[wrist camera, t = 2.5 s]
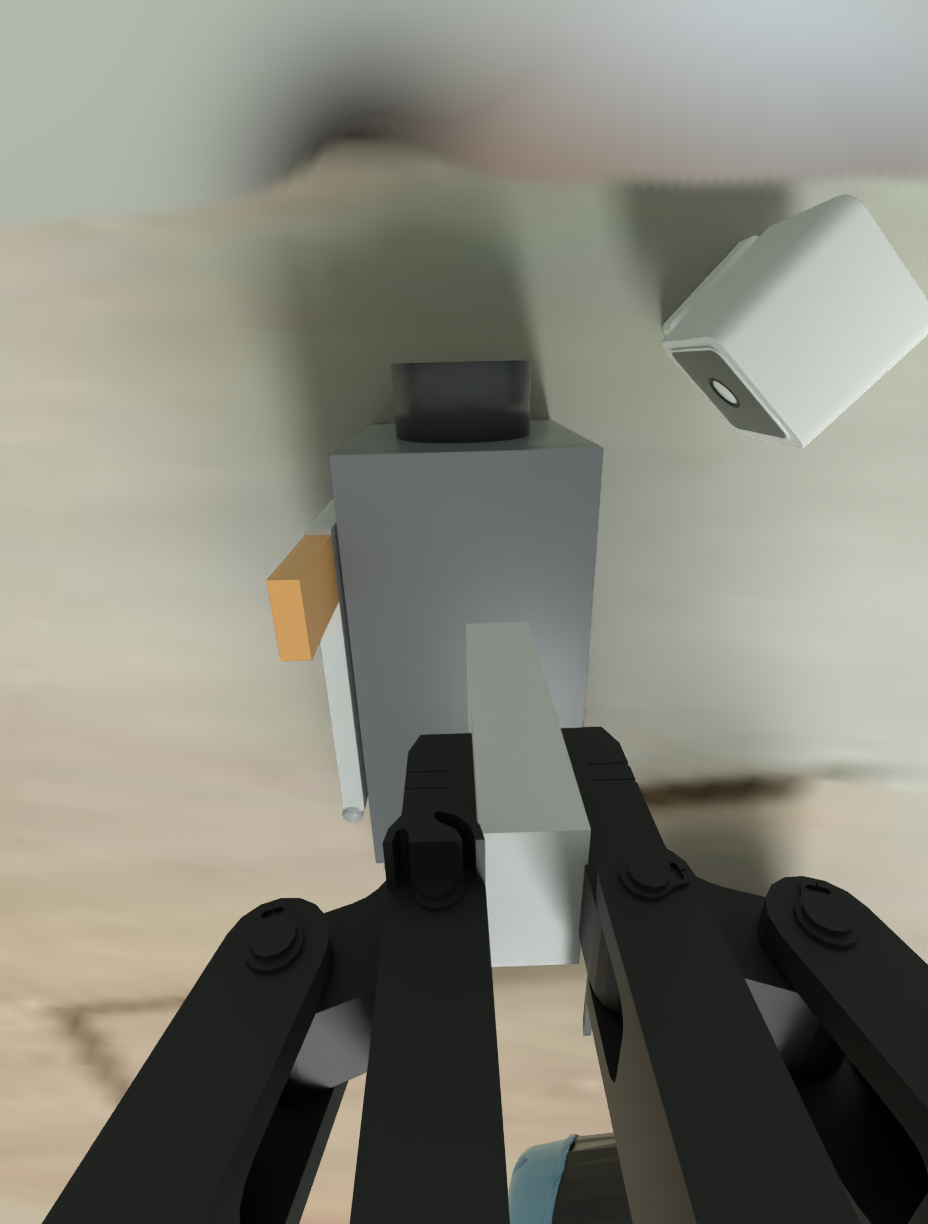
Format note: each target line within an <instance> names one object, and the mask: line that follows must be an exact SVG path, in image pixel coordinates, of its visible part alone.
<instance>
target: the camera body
mask: <svg viewBox="0 0 928 1224" xmlns="http://www.w3.org/2000/svg"><path fill="white" fill-rule="evenodd" d="M392 378H393V393H394V407H395V422H396V424H371V425H369V426H368V427H367V428H365V429H364V430H363V431H361V432H360V433H358V434H357V435H356V436H354V437H353V438H352V439H350V440H349V441H348V442H346V443H345V444H344V445H342V446H341V447H339V448H338V449H337V450H335V451H334V452H333V453H331V454H330V455H329V456H328V457H329V465H330V474H331V482H332V491H333V499H334V508H335V516H336V525H337V533H338V542H339V551H340V559H341V568H342V576H343V585H344V593H345V602H346V610H347V619H348V627H349V636H350V645H351V653H352V662H353V670H354V679H355V687H356V696H357V704H358V713H359V721H360V730H361V739H362V747H363V756H364V764H365V773H366V781H367V790H368V798H369V807H370V815H371V824H372V833H373V841H374V850H375V858H376V863H385V862H384V853H383V844H382V843H383V841H384V838H385V836H386V833H387V830H388V828H389V827H390V826H391V825H392V824H393V823H394V822H395V821H396V820H397V819H398V818H399V817H400V816H401V815H402V806H403V796H404V787H405V777H406V767H407V758H408V751H409V750H410V749H411V747H412V746H413V745H414V743H415V742H416V740H417V739H418V738H419V736H420V735H426V734H455V733H469V723H468V687H467V647H466V624H473V623H505V622H529V626H530V629H531V632H532V636H533V639H534V642H535V646H536V649H537V652H538V656H539V659H540V662H541V666H542V669H543V672H544V676H545V679H546V682H547V686H548V689H549V692H550V695H551V699H552V702H553V705H554V709H555V712H556V715H557V719H558V722H559V725H560V728H578V727H583V724H584V710H585V696H586V682H587V668H588V654H589V640H590V627H591V613H592V599H593V585H594V571H595V557H596V543H597V529H598V515H599V501H600V488H601V474H602V460H603V447H601V446H599V445H597V444H595V443H593V442H591V441H590V440H588V439H586V438H584V437H582V436H580V435H578V434H577V433H575V432H573V431H571V430H569V429H567V428H565V427H563V426H562V425H560V424H558V423H556V422H554V421H552V420H550V419H544V420H530V402H531V360H527V361H481V362H443V363H409V364H392Z"/></svg>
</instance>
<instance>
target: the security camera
mask: <svg viewBox="0 0 928 1224" xmlns="http://www.w3.org/2000/svg"><path fill="white" fill-rule="evenodd" d="M662 330H663V332H664V333H665V334H666V337H665V338H664V339H663V340H662V342H661V344H662V347H663V348H664V350H665V351H666V353H667V354H668V355H669V356H670V357H671V359H672V360H673V361H674V362H675V363H676V364H677V365H678V367H679V368H680V369H681V370H682V371H683V372H684V374H685V375H686V376H687V377H688V378H689V379H690V380H691V382H692V383H693V384H694V385H695V386H696V387H697V389H698V390H699V391H700V392H701V393H702V394H703V395H704V397H705V398H706V399H707V400H708V401H709V402H710V404H711V405H712V406H713V407H714V408H715V409H716V410H717V412H718V413H719V414H720V415H721V416H722V417H723V418H724V420H725V421H726V422H727V423H728V424H729V425H730V426H731V427H732V428H733V429H734V430H735V431H736V432H738V433H739V434H741V435H743V436H747V437H751V438H756V439H760V440H764V441H768V442H772V443H777V444H781V445H785V446H789V447H794V448H798V449H803V448H804V447H805V446H806V445H807V444H809V443H810V442H811V441H812V440H813V439H814V438H815V437H816V436H817V435H818V434H819V433H821V432H822V431H823V430H824V429H825V428H826V427H827V426H828V425H829V424H830V423H832V422H833V421H834V420H835V419H836V418H837V417H838V416H839V415H840V414H841V413H842V412H844V411H845V410H846V409H847V408H848V407H849V406H850V405H851V404H852V403H853V402H855V401H856V400H857V399H858V398H859V397H860V396H861V395H862V394H863V393H864V392H865V391H867V390H868V389H869V388H870V387H871V386H872V385H873V384H874V383H875V382H876V381H877V380H879V379H880V378H881V377H882V376H883V375H884V374H885V373H886V372H887V371H888V370H890V369H891V368H892V367H893V366H894V365H895V364H896V363H897V362H898V361H899V360H900V359H902V358H903V357H904V356H905V355H906V354H907V353H908V352H909V351H910V350H911V349H913V348H914V347H915V346H916V345H917V344H918V343H919V342H920V341H921V340H922V339H923V338H925V337H926V336H927V335H928V299H927V297H926V296H925V294H924V293H923V291H922V290H921V288H920V287H919V285H918V284H917V282H916V281H915V279H914V278H913V276H912V275H911V273H910V272H909V270H908V269H907V267H906V266H905V264H904V263H903V261H902V260H901V258H900V257H899V255H898V254H897V252H896V251H895V249H894V248H893V246H892V245H891V243H890V242H889V240H888V239H887V237H886V236H885V234H884V233H883V231H882V230H881V228H880V227H879V225H878V224H877V222H876V221H875V219H874V218H873V216H872V215H871V213H870V212H869V210H868V209H867V207H866V206H865V205H864V204H863V202H861V201H860V200H859V199H858V198H856V197H854V196H851V195H846V194H845V195H840V196H837V197H835V198H833V199H831V200H828V201H826V202H824V203H821V204H819V205H817V206H815V207H812V208H810V209H808V210H806V211H803V212H801V213H799V214H796V215H794V216H792V217H790V218H787V219H785V220H783V221H780V222H778V223H776V224H774V225H771V226H769V227H768V228H767V229H766V230H765V231H764V232H763V233H762V234H761V236H760V237H759V236H757V235H754V236H751V237H749V238H747V239H745V240H742V241H740V242H739V243H738V244H737V245H736V246H735V247H734V248H733V249H732V251H731V252H730V253H729V254H728V255H727V256H726V257H725V258H724V259H723V260H722V261H721V262H720V263H719V265H718V266H717V267H716V268H715V269H714V270H713V271H712V272H711V273H710V274H709V275H708V276H707V277H706V279H705V280H704V281H703V282H702V283H701V284H700V285H699V286H698V287H697V288H696V289H695V290H694V291H693V293H692V294H691V295H690V296H689V297H688V298H687V299H686V300H685V301H684V302H683V303H682V304H681V305H680V307H679V308H678V309H677V310H676V311H675V312H674V313H673V314H672V315H671V316H670V317H669V318H668V319H667V321H666V322H665V323H664V324H663V326H662Z"/></svg>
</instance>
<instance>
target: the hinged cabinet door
mask: <svg viewBox="0 0 928 1224" xmlns="http://www.w3.org/2000/svg"><path fill="white" fill-rule="evenodd" d="M304 531H305V536H304V537H303V538H302V540H301V541H300V542H299V543H298V544H297V545H296V547H295V548H294V549H293V550H292V551H291V552H290V554H289V555H288V556H287V557H286V558H285V559H284V561H283V562H282V563H281V564H280V565H279V566H278V568H277V569H276V570H275V571H274V572H273V573H272V575H271V576H270V577H269V578H268V579H267V586H268V592H269V598H270V603H271V609H272V615H273V621H274V626H275V632H276V638H277V643H278V649H279V655H280V661H303V660H312V658H313V656H314V654H315V652H316V649H317V647H318V645H319V643H320V645H321V652H322V659H323V666H324V673H325V681H326V688H327V695H328V702H329V709H330V716H331V723H332V730H333V737H334V744H335V752H336V759H337V766H338V773H339V780H340V787H341V794H342V801H343V808H344V809H343V813H342V816H343V818H344V819H345V820H346V821H348V822H351V823H356V822H359V821H360V820H361V819H362V818H363V814H364V811H365V807H366V802H367V797H368V790H367V781H366V773H365V764H364V756H363V747H362V739H361V730H360V721H359V713H358V704H357V696H356V687H355V679H354V670H353V662H352V653H351V645H350V636H349V627H348V619H347V610H346V602H345V593H344V585H343V576H342V568H341V559H340V551H339V542H338V533H337V525H336V516H335V508H334V499H332V500H331V501H330V502H329V503H328V504H327V505H326V507H325V508H324V509H323V510H322V511H321V512H320V513H319V514H318V516H317V517H316V518H315V519H314V520H313V521H312V522H311V524H310V525H309V526H308V527H307V528H306V529H305V530H304Z"/></svg>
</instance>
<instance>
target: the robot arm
mask: <svg viewBox="0 0 928 1224" xmlns="http://www.w3.org/2000/svg"><path fill="white" fill-rule="evenodd" d="M466 647H467V687H468V723H469V733H455V734H426V735H420V736H419V738H418V739H417V740H416V742H415V743H414V745H413V746H412V747H411V749H410V750H409V751H408V758H407V767H406V777H405V787H404V796H403V806H402V815H401V816H400V817H399V818H398V819H397V820H396V821H395V822H394V823H393V824H392V825H391V826H390V827H389V828H388V830H387V833H386V836H385V838H384V841H383V843H382V844H383V853H384V862H385V871H386V881H385V882H384V883H383V884H382V885H381V886H380V888H379V889H377V890H376V891H374V892H373V893H372V894H370V895H369V896H367V897H366V898H364V899H361V900H359V901H357V902H355V903H353V904H350V905H347V906H344V907H341V908H338V909H335V910H332V911H329V912H326V913H323V912H322V911H321V910H320V909H319V907H318V906H317V905H316V904H313V903H311V902H309V901H306V900H304V899H301V898H280V899H277V900H274V901H271V902H268V903H265V904H262V905H260V906H258V907H257V908H255V909H254V910H252V911H251V912H249V913H248V914H246V915H245V916H243V917H242V918H241V919H240V920H239V921H238V922H237V924H236V925H235V926H234V927H233V928H232V929H231V930H230V932H229V933H228V934H227V935H226V937H225V938H224V940H223V942H222V943H221V945H220V946H219V948H218V949H217V951H216V953H215V954H214V956H213V957H212V959H211V960H210V962H209V963H208V965H207V967H206V968H205V970H204V971H203V973H202V974H201V976H200V977H199V979H198V981H197V982H196V984H195V985H194V987H193V988H192V990H191V992H190V993H189V995H188V996H187V998H186V999H185V1001H184V1002H183V1004H182V1006H181V1007H180V1009H179V1010H178V1012H177V1013H176V1015H175V1017H174V1018H173V1020H172V1021H171V1023H170V1024H169V1026H168V1027H167V1029H166V1031H165V1032H164V1034H163V1035H162V1037H161V1038H160V1040H159V1041H158V1043H157V1045H156V1046H155V1048H154V1049H153V1051H152V1052H151V1054H150V1056H149V1057H148V1059H147V1060H146V1062H145V1063H144V1065H143V1066H142V1068H141V1070H140V1071H139V1073H138V1074H137V1076H136V1077H135V1079H134V1081H133V1082H132V1084H131V1085H130V1087H129V1088H128V1090H127V1091H126V1093H125V1095H124V1096H123V1098H122V1099H121V1101H120V1102H119V1104H118V1105H117V1107H116V1109H115V1110H114V1112H113V1113H112V1115H111V1116H110V1118H109V1120H108V1121H107V1123H106V1124H105V1126H104V1127H103V1129H102V1130H101V1132H100V1134H99V1135H98V1137H97V1138H96V1140H95V1141H94V1143H93V1145H92V1146H91V1148H90V1149H89V1151H88V1152H87V1154H86V1155H85V1157H84V1159H83V1160H82V1162H81V1163H80V1165H79V1166H78V1168H77V1169H76V1171H75V1173H74V1174H73V1176H72V1177H71V1179H70V1180H69V1182H68V1184H67V1185H66V1187H65V1188H64V1190H63V1191H62V1193H61V1194H60V1196H59V1198H58V1199H57V1201H56V1202H55V1204H54V1205H53V1207H52V1209H51V1210H50V1212H49V1213H48V1215H47V1216H46V1218H45V1219H44V1221H43V1223H42V1224H299V1222H300V1219H301V1217H302V1214H303V1211H304V1208H305V1205H306V1202H307V1199H308V1196H309V1193H310V1190H311V1187H312V1185H313V1182H314V1179H315V1176H316V1173H317V1170H318V1167H319V1164H320V1161H321V1158H322V1156H323V1153H324V1150H325V1147H326V1144H327V1141H328V1138H329V1135H330V1132H331V1129H332V1127H333V1124H334V1121H335V1118H336V1115H337V1112H338V1109H339V1106H340V1103H341V1100H342V1097H343V1095H344V1092H345V1089H346V1086H347V1083H348V1080H350V1079H352V1078H354V1077H357V1076H359V1075H361V1074H364V1073H366V1072H367V1076H366V1085H365V1093H364V1102H363V1111H362V1120H361V1129H360V1138H359V1147H358V1155H357V1164H356V1173H355V1182H354V1191H353V1200H352V1209H351V1217H350V1224H928V965H927V964H926V963H925V962H924V961H923V960H922V959H921V958H920V957H919V956H918V955H917V954H916V953H915V952H914V951H913V950H912V949H911V948H910V947H909V946H908V945H907V944H905V943H904V942H903V941H902V940H901V939H900V938H899V937H898V936H897V935H896V934H895V933H894V932H893V931H892V930H891V929H890V928H889V927H888V926H887V925H886V924H885V923H884V922H882V921H881V920H880V919H879V918H878V917H877V916H876V915H875V914H874V913H873V912H872V911H871V910H870V909H869V908H868V907H867V906H865V905H864V904H863V903H861V902H860V901H859V900H857V899H856V898H855V897H854V896H852V895H851V894H850V893H848V892H847V891H845V890H843V889H840V888H838V887H836V886H834V885H832V884H830V883H828V882H826V881H822V880H818V879H814V878H809V877H805V876H798V877H784V878H783V879H781V880H779V881H777V882H776V883H774V884H772V885H771V887H770V889H769V891H768V893H767V896H766V897H762V896H758V895H754V894H749V893H745V892H741V891H737V890H732V889H728V888H724V887H721V886H718V885H715V884H712V883H709V882H707V881H705V880H703V879H701V878H699V877H697V876H695V874H694V873H693V871H692V870H691V869H690V867H689V866H688V864H687V863H686V862H685V861H684V860H682V859H681V858H680V857H678V856H677V855H676V854H674V853H673V852H672V851H671V850H668V849H667V848H666V846H665V845H664V843H663V840H662V838H661V836H660V834H659V831H658V829H657V827H656V825H655V822H654V820H653V818H652V816H651V813H650V811H649V809H648V807H647V804H646V802H645V800H644V798H643V795H642V793H641V791H640V788H639V786H638V784H637V782H635V777H634V775H633V773H632V770H631V768H630V766H628V761H627V759H626V757H625V755H624V752H623V750H622V748H621V746H620V743H619V742H618V741H617V740H616V739H614V738H613V737H612V736H611V735H610V734H609V733H608V732H607V731H606V730H604V729H603V728H602V727H578V728H560V725H559V722H558V719H557V715H556V712H555V709H554V705H553V702H552V699H551V695H550V692H549V689H548V686H547V682H546V679H545V676H544V672H543V669H542V666H541V662H540V659H539V656H538V652H537V649H536V646H535V642H534V639H533V636H532V632H531V629H530V626H529V622H505V623H473V624H466ZM580 946H582V951H583V955H584V960H585V964H586V969H587V973H588V974H587V984H586V994H585V1004H584V1014H583V1036H591V1029H592V1032H593V1036H594V1041H595V1046H596V1051H597V1055H598V1060H599V1065H600V1070H601V1074H602V1079H603V1084H604V1089H605V1093H606V1098H607V1103H608V1108H609V1112H610V1117H611V1122H612V1127H613V1131H614V1133H605V1134H597V1135H588V1136H579V1135H577V1134H572V1135H570V1136H569V1137H568V1138H567V1139H564V1140H560V1141H556V1142H551V1143H547V1144H541V1145H536V1146H533V1147H530V1148H529V1149H527V1150H526V1151H525V1152H523V1154H522V1155H521V1156H520V1157H519V1159H518V1161H517V1163H516V1165H515V1167H514V1170H513V1174H512V1178H511V1182H510V1188H509V1194H508V1187H507V1173H506V1159H505V1146H504V1132H503V1118H502V1104H501V1091H500V1077H499V1063H498V1049H497V1036H496V1022H495V1008H494V994H493V981H492V967H508V966H534V965H559V964H579V957H580Z"/></svg>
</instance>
